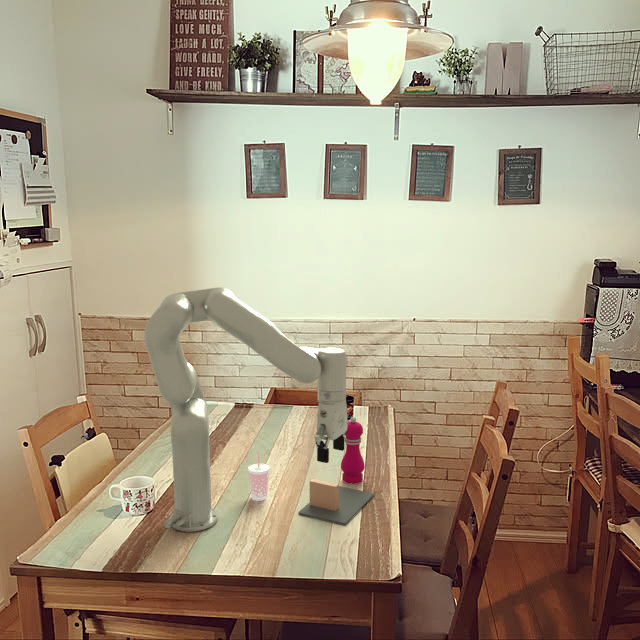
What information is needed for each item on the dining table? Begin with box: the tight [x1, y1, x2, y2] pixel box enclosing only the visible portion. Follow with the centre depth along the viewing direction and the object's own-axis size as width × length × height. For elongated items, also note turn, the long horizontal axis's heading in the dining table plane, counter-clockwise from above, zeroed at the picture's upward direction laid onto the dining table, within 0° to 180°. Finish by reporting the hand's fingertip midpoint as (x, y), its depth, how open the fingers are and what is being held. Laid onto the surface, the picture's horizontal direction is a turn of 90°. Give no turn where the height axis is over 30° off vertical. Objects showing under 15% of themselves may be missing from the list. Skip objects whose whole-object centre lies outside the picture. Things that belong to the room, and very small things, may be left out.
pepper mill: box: [340, 416, 365, 485], centre depth 200 cm, size 7×7×20 cm
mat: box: [298, 485, 375, 526], centre depth 185 cm, size 20×14×1 cm
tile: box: [309, 478, 340, 511], centre depth 182 cm, size 2×8×7 cm, turn 63°
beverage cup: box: [247, 450, 270, 502], centre depth 188 cm, size 6×6×14 cm
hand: (330, 455), depth 179 cm, fingers open, 9 cm apart
